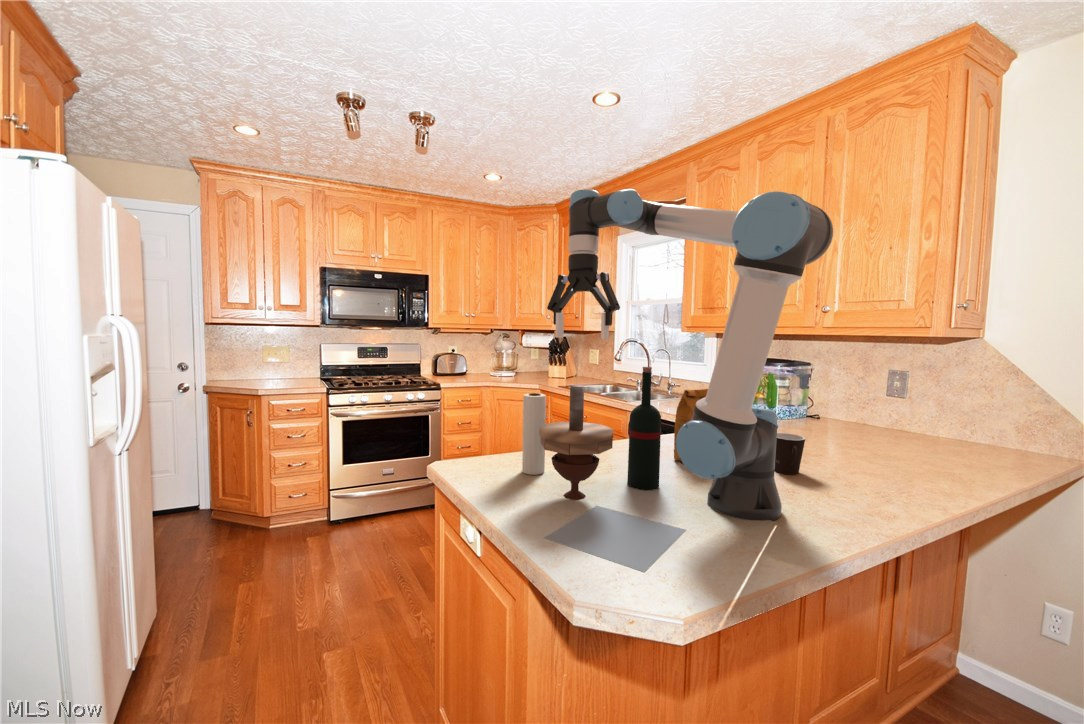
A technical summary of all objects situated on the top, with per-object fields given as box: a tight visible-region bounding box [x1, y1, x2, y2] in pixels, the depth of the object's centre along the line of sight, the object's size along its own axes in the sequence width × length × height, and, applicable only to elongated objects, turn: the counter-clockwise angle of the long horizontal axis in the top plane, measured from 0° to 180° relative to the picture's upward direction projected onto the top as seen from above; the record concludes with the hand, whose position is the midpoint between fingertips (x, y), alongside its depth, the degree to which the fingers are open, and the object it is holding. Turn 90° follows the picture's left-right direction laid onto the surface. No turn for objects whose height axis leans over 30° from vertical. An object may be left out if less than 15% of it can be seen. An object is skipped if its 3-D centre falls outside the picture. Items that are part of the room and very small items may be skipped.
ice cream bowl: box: [551, 452, 600, 501], centre depth 109 cm, size 11×11×15 cm
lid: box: [539, 385, 614, 455], centre depth 108 cm, size 17×17×14 cm
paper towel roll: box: [521, 392, 547, 476], centre depth 128 cm, size 7×6×21 cm
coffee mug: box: [774, 432, 806, 476], centre depth 131 cm, size 12×9×10 cm
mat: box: [543, 505, 687, 573], centre depth 90 cm, size 20×20×1 cm
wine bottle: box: [626, 366, 662, 491], centre depth 119 cm, size 8×10×30 cm
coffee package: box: [673, 388, 708, 462], centre depth 140 cm, size 10×12×22 cm
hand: (581, 338), depth 121 cm, fingers open, 13 cm apart
